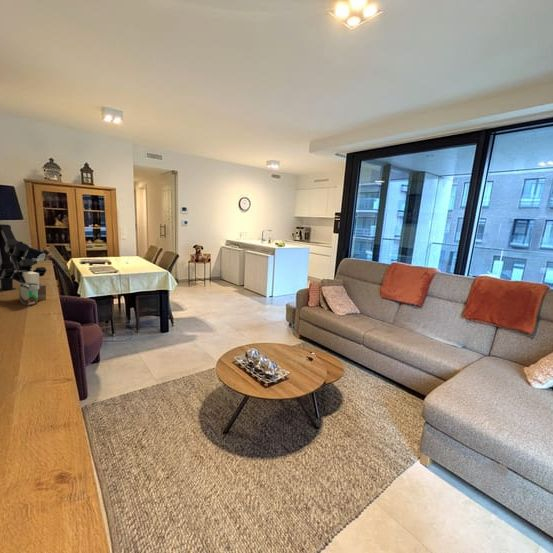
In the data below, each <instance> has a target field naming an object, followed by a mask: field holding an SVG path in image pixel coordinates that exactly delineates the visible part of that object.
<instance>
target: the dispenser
mask: <svg viewBox="0 0 553 553" xmlns="http://www.w3.org/2000/svg"><path fill="white" fill-rule="evenodd" d="M46 287H47V286H46V284H42V283H41V284H40V283H39V288H40V289H38V299H37V302H39V301H38V300H41V301H46V300H47V290H46V289H47V288H46ZM18 291H19V294H18V295H19V302H20V301H21V296H20V287H19V286H18Z"/></svg>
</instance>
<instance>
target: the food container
mask: <svg viewBox="0 0 553 553" xmlns="http://www.w3.org/2000/svg"><path fill="white" fill-rule="evenodd" d="M18 283H19V284H18V288H19V287H20V296H21V302H20V303H21V304H23V305H25V306H28V307H31V305H32V306H36V305H37V304H38V301H37V299H38V289H40V288H39V285H38V284H36V283H20V282H18ZM20 296H19V297H20Z"/></svg>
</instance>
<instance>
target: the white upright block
mask: <svg viewBox="0 0 553 553" xmlns="http://www.w3.org/2000/svg"><path fill="white" fill-rule="evenodd" d="M22 276H23V278H24V280H25V282H26V283H36V284H38V285H39V284H40V276H39V273H36V272H32V271H30V272H23V275H22Z"/></svg>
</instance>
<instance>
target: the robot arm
mask: <svg viewBox="0 0 553 553" xmlns="http://www.w3.org/2000/svg"><path fill="white" fill-rule="evenodd" d="M29 249H30V246H29V245H28V244H26V243H24V242H23V241H19V240H17V239H16V237H15V235H14V233H13V231H12V227H11V225H10V224H5V223H4V224H1V223H0V290H1V291H7V290H8V291H9V289H10V290H16V289H17V287H14V280H15V281H16V282H18V283H26V282H25V280H24V278H23V272H30V271H32V272H36V273H39V277H43V276H45V274H46V272H47V271H48V270H47V268H46V267H45V266H39V267H35V269H32V268H33V266H34V265H36V264H38V260H37V258H35V257H32V258H26V257H27V255H28V252H29Z"/></svg>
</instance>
